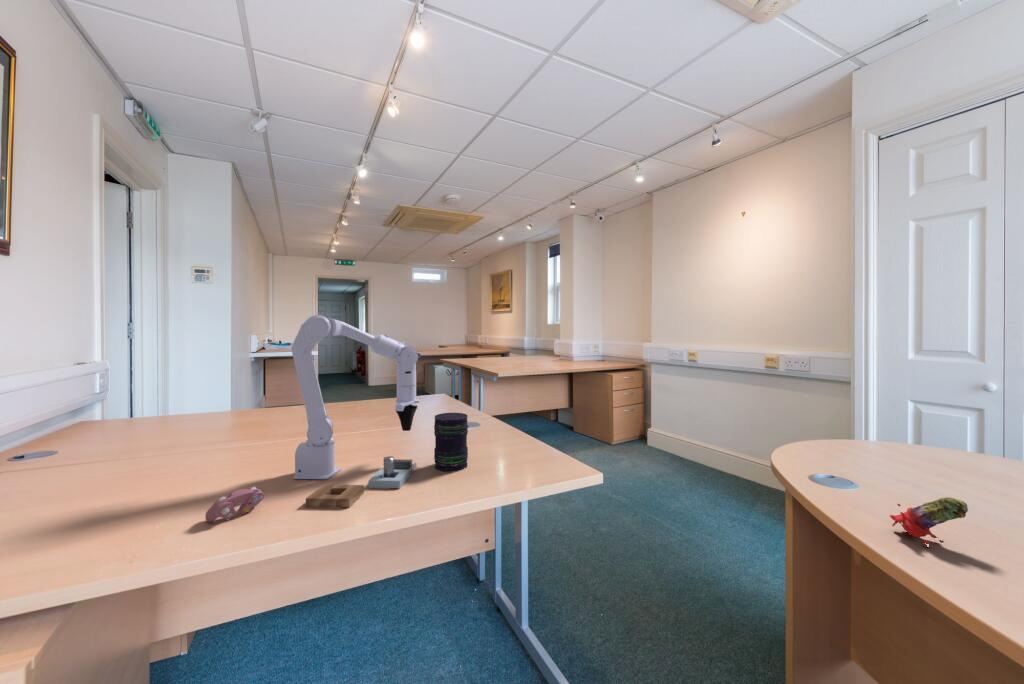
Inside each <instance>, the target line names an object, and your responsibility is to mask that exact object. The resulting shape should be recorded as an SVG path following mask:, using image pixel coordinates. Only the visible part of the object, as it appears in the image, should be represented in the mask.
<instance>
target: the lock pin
mask: <svg viewBox="0 0 1024 684" xmlns="http://www.w3.org/2000/svg"><path fill="white" fill-rule="evenodd" d="M394 459H395V457H394V456H393V455H391V456H389V455H388V456H384V457H383V469H384V478H394Z"/></svg>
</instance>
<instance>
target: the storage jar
mask: <svg viewBox="0 0 1024 684" xmlns="http://www.w3.org/2000/svg"><path fill="white" fill-rule="evenodd" d="M468 426H469V424H468V414H466V413H462V412H443V413H439V414H438V413H437V414H435V415H434V426H433V427H434V430H433V433H434V436H435V437H434V438H435V439H434V440H435V443H434V445H435V448H434V452H433V453H434V455H433V459H434V469H435V470H436V469H437V471H438V470H440V472H443V471H445V473H453V472H452V471H455V472H459V470H460V471H463V470H465V469H467V468H468V457H469V453H468V452H469V451H468V450H469V449H468V448H469V447H468V446H467V445H468V443H467V442H468V441H467V440H468V438H467V437H468V434H469V433H468V428H469V427H468ZM464 468H465V469H464ZM462 469H463V470H462Z"/></svg>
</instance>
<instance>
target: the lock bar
mask: <svg viewBox="0 0 1024 684" xmlns="http://www.w3.org/2000/svg"><path fill="white" fill-rule="evenodd" d="M412 465H413V459H398V458H397V459H396V458H394V470H409V469H410V468H411V466H412Z"/></svg>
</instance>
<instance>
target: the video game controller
mask: <svg viewBox="0 0 1024 684" xmlns="http://www.w3.org/2000/svg"><path fill="white" fill-rule="evenodd" d="M264 498H265V493H264V492H263V491H262V490H261V489H259V488H256V486H252V487H251V488H241V489H237V490H234V491H231V493H228V494H227V495H225V496H221V497H220V498H218V500H216V501H215V502H214V503H212V505H211V506H210V508H209V509H207V511H206V513H205V514H204V515H205V517H204V518H205V521H206V522H207V521H208V523H212V522H214V521H216V520H217V519H218V518H223V519H224V520H225V521H227V520H226V519H229V518H231V519H233V518H234V517H235V516H236V514H237V511H236V509H235V508H236V507H238V506H239V508H238V511H239V512H240V514H241V515H244V513H246V514H248V513H249V512H251V511H252V509H253V508H255V507H256V506H258V505H259V504H260V503H261V502H262V500H263V499H264ZM247 512H248V513H247ZM229 520H230V519H229Z"/></svg>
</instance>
